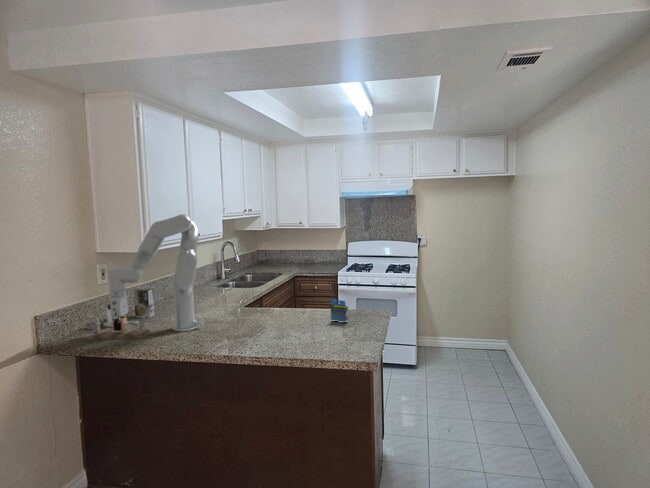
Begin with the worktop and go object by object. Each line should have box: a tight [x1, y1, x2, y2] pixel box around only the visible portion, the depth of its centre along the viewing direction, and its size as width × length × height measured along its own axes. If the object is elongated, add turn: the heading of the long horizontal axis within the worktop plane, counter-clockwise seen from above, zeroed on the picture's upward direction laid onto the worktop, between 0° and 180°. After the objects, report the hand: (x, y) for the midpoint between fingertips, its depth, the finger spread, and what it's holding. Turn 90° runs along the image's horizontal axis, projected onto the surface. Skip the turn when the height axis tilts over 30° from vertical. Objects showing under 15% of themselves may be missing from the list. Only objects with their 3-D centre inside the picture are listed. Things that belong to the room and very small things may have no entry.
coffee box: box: [133, 288, 156, 319], centre depth 248 cm, size 9×6×16 cm
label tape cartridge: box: [330, 299, 349, 321], centre depth 229 cm, size 9×4×12 cm, turn 65°
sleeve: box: [112, 317, 128, 331], centre depth 211 cm, size 5×5×5 cm
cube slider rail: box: [86, 318, 151, 341], centre depth 211 cm, size 28×10×8 cm, turn 94°
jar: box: [106, 302, 127, 328], centre depth 231 cm, size 9×8×12 cm
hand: (120, 328), depth 211 cm, fingers closed on sleeve, 5 cm apart
